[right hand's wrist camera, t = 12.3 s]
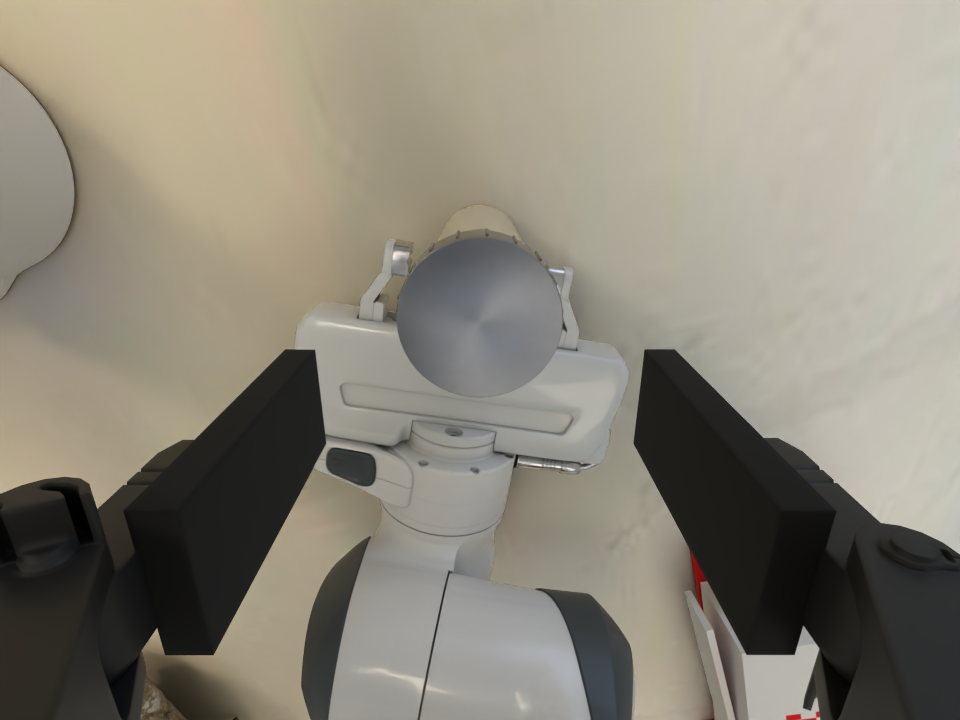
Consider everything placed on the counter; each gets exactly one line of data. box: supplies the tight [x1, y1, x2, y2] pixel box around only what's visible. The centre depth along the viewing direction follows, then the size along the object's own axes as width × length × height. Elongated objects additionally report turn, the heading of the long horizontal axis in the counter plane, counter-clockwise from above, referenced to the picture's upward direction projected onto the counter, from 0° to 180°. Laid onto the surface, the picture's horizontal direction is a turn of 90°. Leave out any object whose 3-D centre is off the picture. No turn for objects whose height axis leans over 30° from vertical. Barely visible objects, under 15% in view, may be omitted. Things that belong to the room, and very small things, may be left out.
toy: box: [685, 550, 820, 720], centre depth 45 cm, size 12×13×30 cm
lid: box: [396, 228, 564, 398], centre depth 21 cm, size 6×6×2 cm
